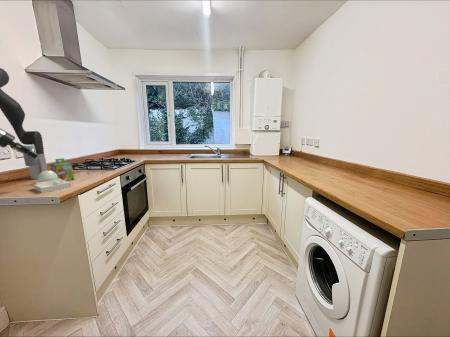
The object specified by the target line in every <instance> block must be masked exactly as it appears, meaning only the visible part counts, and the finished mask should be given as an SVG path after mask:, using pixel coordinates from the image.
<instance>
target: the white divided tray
mask: <svg viewBox="0 0 450 337" xmlns="http://www.w3.org/2000/svg"><path fill="white" fill-rule="evenodd" d="M71 184H72V183H71V181H65V180H62V179H60V178H58V176H57V174H56V173H55V172H53V171H52V170H48V171H43V172H41V173H40V174H39V175H38V179H37V181H36V182H35V183H33V189H34V190H35V191H37V192H39V193H41V194H45V193H49V191H50V192H53V191H54V192H55V191H59V190H64V189H68V188H71V187H72V185H71Z"/></svg>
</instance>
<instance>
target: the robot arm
mask: <svg viewBox="0 0 450 337" xmlns="http://www.w3.org/2000/svg"><path fill="white" fill-rule="evenodd" d="M9 81H10V76H9V73H8V72H7V71H6V70H5V69H4V68H2V67H0V110H1V112H2V114H3V115H4V117H5V118H6V119H7V121H8V122H9V124H10V125H11V127H12V129H13V131H14V133H15V136H14V135H12V134H11V133H9V132H7V131H6V130H4V129H2V128H0V147H1V148H6V147H8V146H9V147H10V149H12V150H13V151H16V152H18V153H21V154H23V153H25V154H27V155H29V156H31V157H33V158H36V157H37V159H38V164H39V165H35V166H28V168H29V174H30V177H31V180H38V175H39V174H40V173H41V172H43V171H49V170H48V166H47V165H48V164H47V161H46V157H45V156H46V155H45V149H44V142H43V136H42V134H41V132H39V131H37V130H33V131H32V130H30V131H29V130H27V131H26V130H25V129H24V127H23V123H24V120H25V117H26V113H25V111H24V109H23V108H22V106H21V104H20V103H19V102H18V101H16V100H15V99H14V98H13V97H12V96H10V95H9V94H7V93H6V92H5V91H3V89H2V88H4V86H6V85H7V84H9ZM16 138H18V140H19V142H17V141H16V142H15V139H16ZM24 146H35V149H36V154H37V155H36V154H35V153H33V152H31V151H30V150H29V149H27V148H26V147H24ZM24 150H26V151H25V152H24Z"/></svg>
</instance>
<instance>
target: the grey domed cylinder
mask: <svg viewBox="0 0 450 337" xmlns="http://www.w3.org/2000/svg"><path fill="white" fill-rule="evenodd" d="M23 146H24V147H26V148H27V149H29V150H30V151H31V152H33V153H35V154H36V149H35V146H34V145H23ZM25 151H26V150H24V152H25ZM22 154H23V160H24V165H25V167H29V166H35V165H39V164H38V159H37V157H36V158H33V157H31V156H29V155H27V154H25V153H22ZM36 155H37V154H36Z"/></svg>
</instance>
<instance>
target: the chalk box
mask: <svg viewBox="0 0 450 337" xmlns="http://www.w3.org/2000/svg"><path fill="white" fill-rule="evenodd" d="M59 161H61V162H59ZM50 168H51V171H53V172H55V173H56V174H57V176H58V178H60V179H62V180H65V181H68V182H71V181H74V180H75V176H74V170H73V164H72V163H70V162H66V161H65V159H64V158H63V157H62V158H56V159H55V163H51V164H50Z"/></svg>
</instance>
